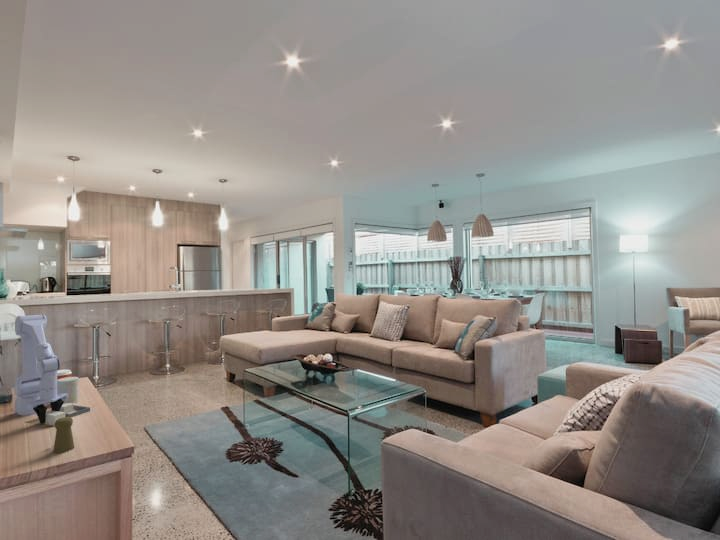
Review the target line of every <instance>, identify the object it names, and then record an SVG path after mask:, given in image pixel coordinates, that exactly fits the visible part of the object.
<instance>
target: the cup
mask: <svg viewBox="0 0 720 540" xmlns="http://www.w3.org/2000/svg"><path fill="white" fill-rule="evenodd" d="M79 379H80V378H79V377H78V376H71V377H66V378H61V379H58V380H57V395H59V394H64V393H68V398H67V399H62V400H63V401H64V403H63V404H65V403H70V404H77V403H78V402H80V401H79V400H80V399H79V397H80V396H79V383H80V381H79ZM78 404H79V403H78Z"/></svg>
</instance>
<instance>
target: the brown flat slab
mask: <svg viewBox="0 0 720 540" xmlns="http://www.w3.org/2000/svg"><path fill="white" fill-rule="evenodd" d="M24 423H25V424H31V425H36V426H41V427H47V428H55V426H53V425H48V424H42V423H40V421H39V418H38V417H36V418H33V419H31V420H27V421H24Z"/></svg>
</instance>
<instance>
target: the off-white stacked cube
mask: <svg viewBox="0 0 720 540" xmlns="http://www.w3.org/2000/svg"><path fill="white" fill-rule="evenodd" d="M55 412H57V411H53V410H51V409H50V410H46V415H45V423H42V424H48V415H49V414H52V413H55Z"/></svg>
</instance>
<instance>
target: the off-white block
mask: <svg viewBox="0 0 720 540" xmlns="http://www.w3.org/2000/svg"><path fill="white" fill-rule="evenodd" d="M64 417H65V412H59V411H58V412H55V413H52V414H49V415H48V425H53V426H54V427H55V422H56V420H58V419H60V418H64Z"/></svg>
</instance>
